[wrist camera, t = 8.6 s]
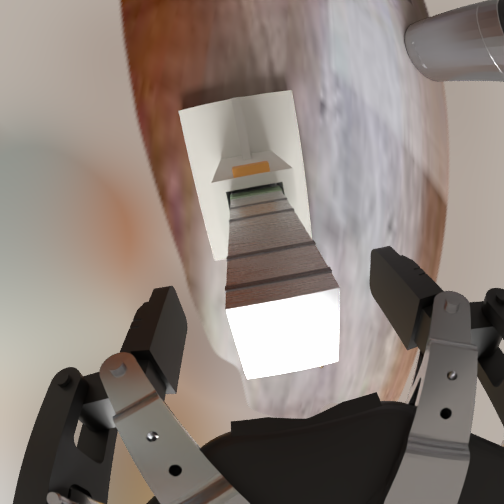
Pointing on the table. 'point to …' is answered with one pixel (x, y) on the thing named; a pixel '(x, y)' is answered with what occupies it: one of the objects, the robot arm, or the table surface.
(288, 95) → the grey stand
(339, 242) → the table surface
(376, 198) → the table surface
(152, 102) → the table surface
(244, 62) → the table surface
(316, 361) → the steel bar
